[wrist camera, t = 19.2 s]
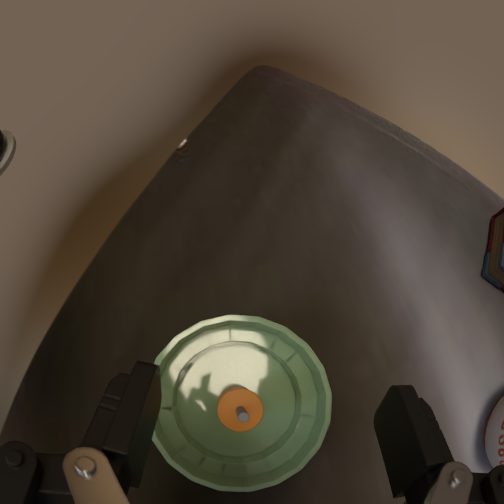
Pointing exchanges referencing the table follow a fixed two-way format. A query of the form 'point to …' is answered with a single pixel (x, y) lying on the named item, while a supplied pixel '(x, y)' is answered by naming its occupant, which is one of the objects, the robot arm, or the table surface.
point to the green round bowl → (253, 378)
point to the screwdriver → (239, 408)
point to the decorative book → (495, 252)
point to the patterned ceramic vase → (495, 435)
